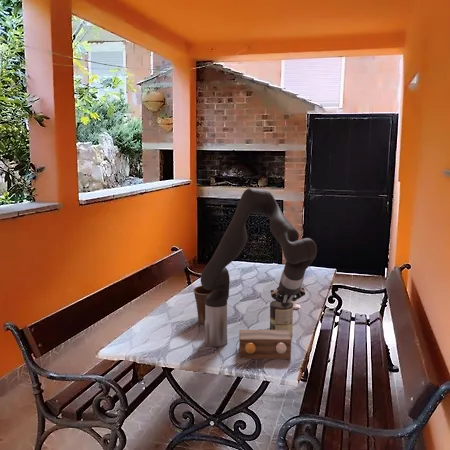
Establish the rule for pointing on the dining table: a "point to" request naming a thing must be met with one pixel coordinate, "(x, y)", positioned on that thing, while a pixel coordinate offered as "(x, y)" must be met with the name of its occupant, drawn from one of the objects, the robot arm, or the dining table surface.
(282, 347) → the ivory button
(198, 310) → the plant pot
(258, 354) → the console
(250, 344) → the amber button
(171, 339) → the dining table surface
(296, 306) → the teacup and saucer
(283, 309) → the coffee can
